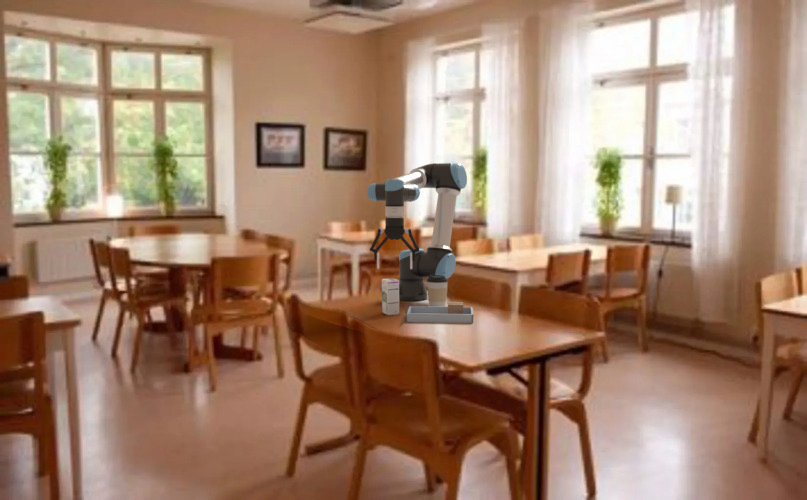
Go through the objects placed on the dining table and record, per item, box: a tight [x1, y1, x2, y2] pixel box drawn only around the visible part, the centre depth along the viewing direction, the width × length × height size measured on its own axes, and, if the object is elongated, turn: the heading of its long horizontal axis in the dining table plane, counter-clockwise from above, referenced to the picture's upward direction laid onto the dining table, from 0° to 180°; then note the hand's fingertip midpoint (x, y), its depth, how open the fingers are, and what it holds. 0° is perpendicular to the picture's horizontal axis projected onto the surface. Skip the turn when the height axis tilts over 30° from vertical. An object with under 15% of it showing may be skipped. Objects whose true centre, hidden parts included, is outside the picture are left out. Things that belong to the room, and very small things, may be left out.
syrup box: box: [381, 277, 400, 316], centre depth 281 cm, size 6×6×14 cm
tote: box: [406, 305, 474, 324], centre depth 268 cm, size 16×26×4 cm, turn 85°
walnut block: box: [447, 301, 464, 314], centre depth 268 cm, size 6×6×6 cm
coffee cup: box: [426, 275, 449, 307], centre depth 289 cm, size 9×9×15 cm
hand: (394, 268), depth 278 cm, fingers open, 13 cm apart
